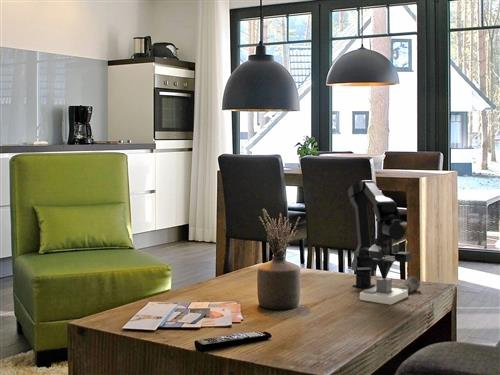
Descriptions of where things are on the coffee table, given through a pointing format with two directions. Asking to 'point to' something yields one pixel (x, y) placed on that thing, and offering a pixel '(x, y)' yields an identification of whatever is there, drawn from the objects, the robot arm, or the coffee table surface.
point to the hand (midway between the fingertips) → (384, 278)
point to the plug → (384, 285)
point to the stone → (411, 284)
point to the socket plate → (383, 295)
